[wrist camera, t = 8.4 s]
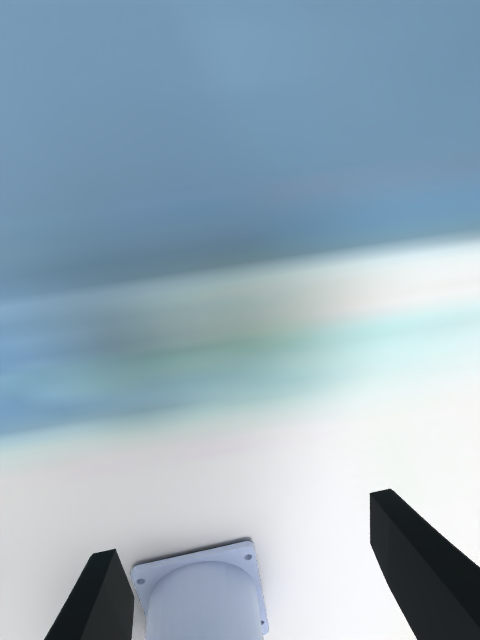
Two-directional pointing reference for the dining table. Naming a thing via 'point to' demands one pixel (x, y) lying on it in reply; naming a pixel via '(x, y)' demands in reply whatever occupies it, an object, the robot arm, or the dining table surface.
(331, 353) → the dining table surface
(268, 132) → the dining table surface
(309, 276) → the dining table surface
